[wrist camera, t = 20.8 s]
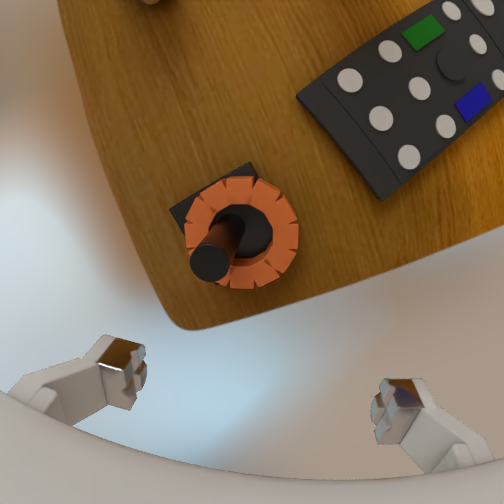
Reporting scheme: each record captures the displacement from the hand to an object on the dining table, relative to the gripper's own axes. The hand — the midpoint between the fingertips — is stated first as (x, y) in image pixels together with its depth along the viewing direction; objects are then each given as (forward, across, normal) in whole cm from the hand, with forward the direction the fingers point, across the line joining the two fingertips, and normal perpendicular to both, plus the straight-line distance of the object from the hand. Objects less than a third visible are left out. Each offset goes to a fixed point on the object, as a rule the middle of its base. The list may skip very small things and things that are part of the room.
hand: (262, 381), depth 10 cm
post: (+19, +4, 0) cm, 20 cm away
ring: (+18, +3, 0) cm, 18 cm away
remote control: (+20, -14, -19) cm, 31 cm away
